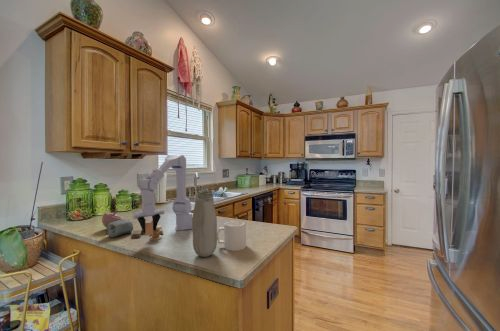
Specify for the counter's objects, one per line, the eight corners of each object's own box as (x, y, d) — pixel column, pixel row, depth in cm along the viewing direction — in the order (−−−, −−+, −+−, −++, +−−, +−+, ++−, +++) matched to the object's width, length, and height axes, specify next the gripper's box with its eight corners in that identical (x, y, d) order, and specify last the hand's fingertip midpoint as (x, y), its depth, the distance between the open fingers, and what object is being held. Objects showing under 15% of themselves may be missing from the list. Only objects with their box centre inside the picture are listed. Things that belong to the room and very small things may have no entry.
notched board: (162, 231, 137) (161, 227, 136) (162, 234, 130) (162, 230, 130) (133, 234, 131) (133, 230, 131) (132, 238, 124) (132, 234, 124)
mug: (216, 251, 104) (216, 227, 104) (217, 243, 115) (217, 221, 114) (247, 250, 106) (246, 226, 106) (245, 242, 116) (245, 220, 116)
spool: (111, 234, 121) (111, 215, 125) (102, 240, 125) (103, 221, 130) (137, 234, 131) (136, 216, 136) (128, 239, 136) (128, 222, 140)
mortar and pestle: (126, 229, 141) (125, 210, 141) (102, 233, 134) (102, 213, 134) (123, 225, 151) (123, 207, 151) (101, 228, 144) (101, 209, 144)
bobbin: (161, 235, 128) (161, 224, 127) (162, 239, 122) (161, 227, 122) (149, 237, 125) (149, 226, 125) (149, 240, 120) (149, 229, 120)
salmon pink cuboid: (153, 232, 117) (152, 220, 117) (153, 234, 114) (152, 222, 114) (145, 233, 116) (145, 221, 116) (145, 235, 113) (145, 223, 113)
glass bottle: (217, 259, 96) (216, 190, 96) (192, 261, 95) (190, 191, 94) (217, 250, 106) (216, 187, 106) (193, 251, 104) (192, 188, 104)
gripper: (160, 200, 122) (160, 226, 123) (130, 204, 113) (130, 232, 113) (165, 202, 117) (166, 229, 118) (134, 206, 108) (135, 235, 108)
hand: (149, 231), depth 115 cm, fingers closed on salmon pink cuboid, 4 cm apart
